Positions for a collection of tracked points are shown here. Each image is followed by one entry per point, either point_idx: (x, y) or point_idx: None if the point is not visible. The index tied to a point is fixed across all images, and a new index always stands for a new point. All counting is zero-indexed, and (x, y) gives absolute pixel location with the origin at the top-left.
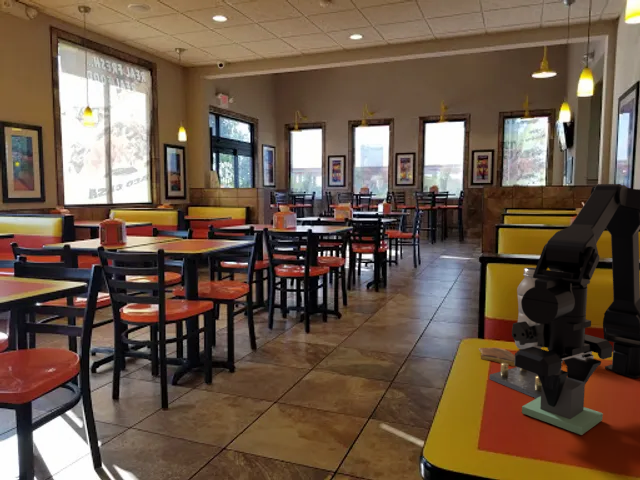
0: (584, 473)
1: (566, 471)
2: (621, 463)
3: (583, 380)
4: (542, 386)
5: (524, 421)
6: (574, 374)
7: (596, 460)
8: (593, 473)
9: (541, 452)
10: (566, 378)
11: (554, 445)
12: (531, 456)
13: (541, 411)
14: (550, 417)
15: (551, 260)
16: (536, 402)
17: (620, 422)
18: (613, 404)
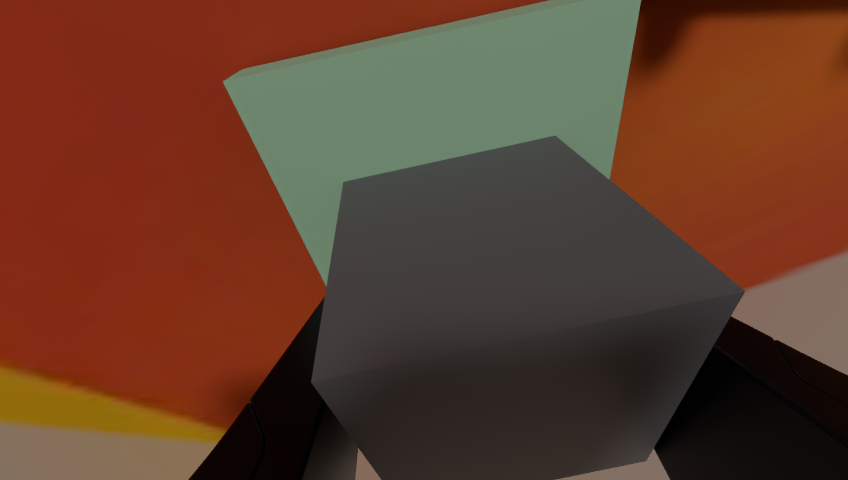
0: (190, 439)
1: (136, 428)
2: None
3: (663, 464)
4: (247, 404)
5: (196, 155)
6: (739, 451)
7: None
8: (218, 441)
9: (107, 362)
10: (643, 400)
11: (202, 347)
12: (41, 369)
13: (317, 211)
14: (320, 267)
15: None
16: (410, 88)
17: None
18: (797, 222)
